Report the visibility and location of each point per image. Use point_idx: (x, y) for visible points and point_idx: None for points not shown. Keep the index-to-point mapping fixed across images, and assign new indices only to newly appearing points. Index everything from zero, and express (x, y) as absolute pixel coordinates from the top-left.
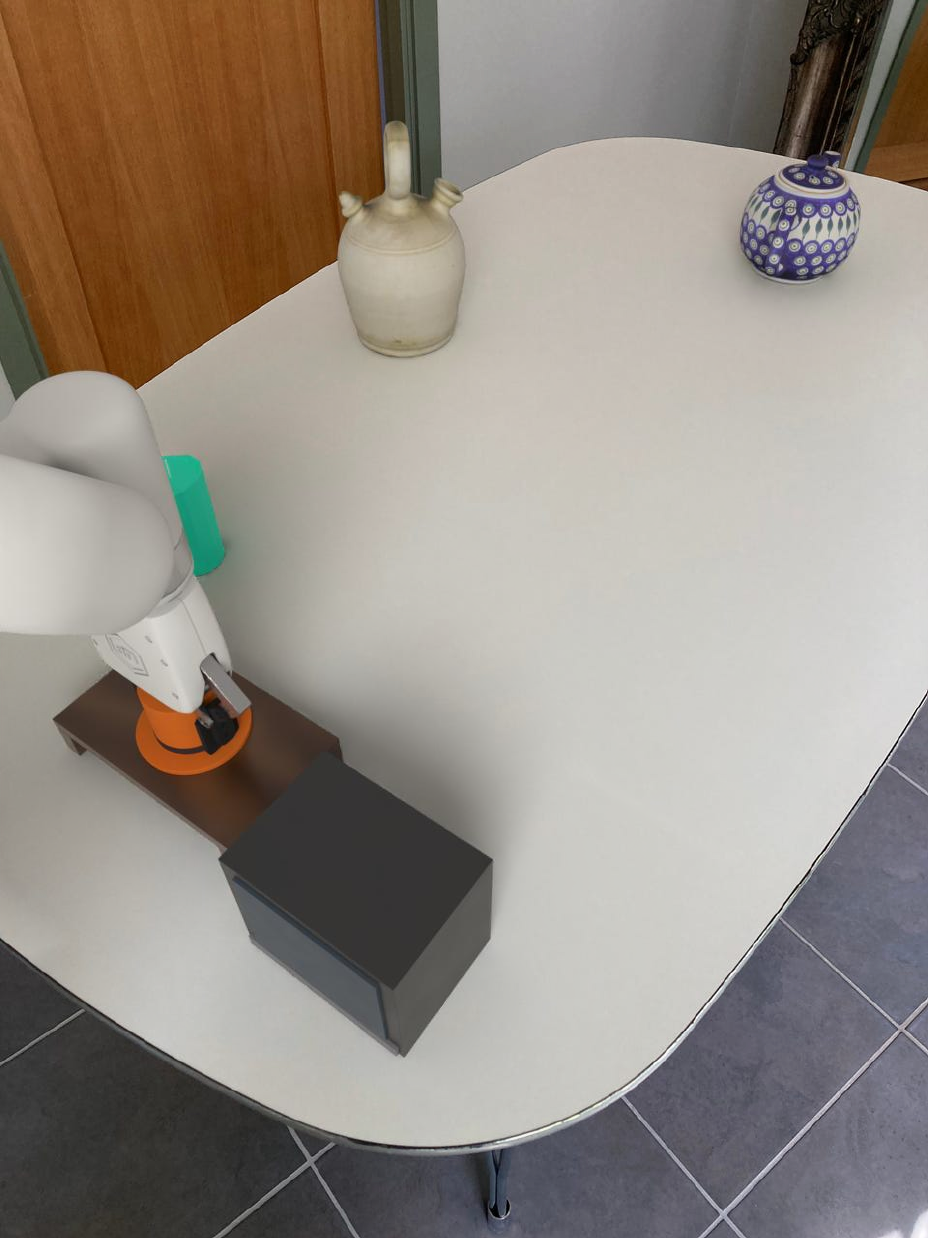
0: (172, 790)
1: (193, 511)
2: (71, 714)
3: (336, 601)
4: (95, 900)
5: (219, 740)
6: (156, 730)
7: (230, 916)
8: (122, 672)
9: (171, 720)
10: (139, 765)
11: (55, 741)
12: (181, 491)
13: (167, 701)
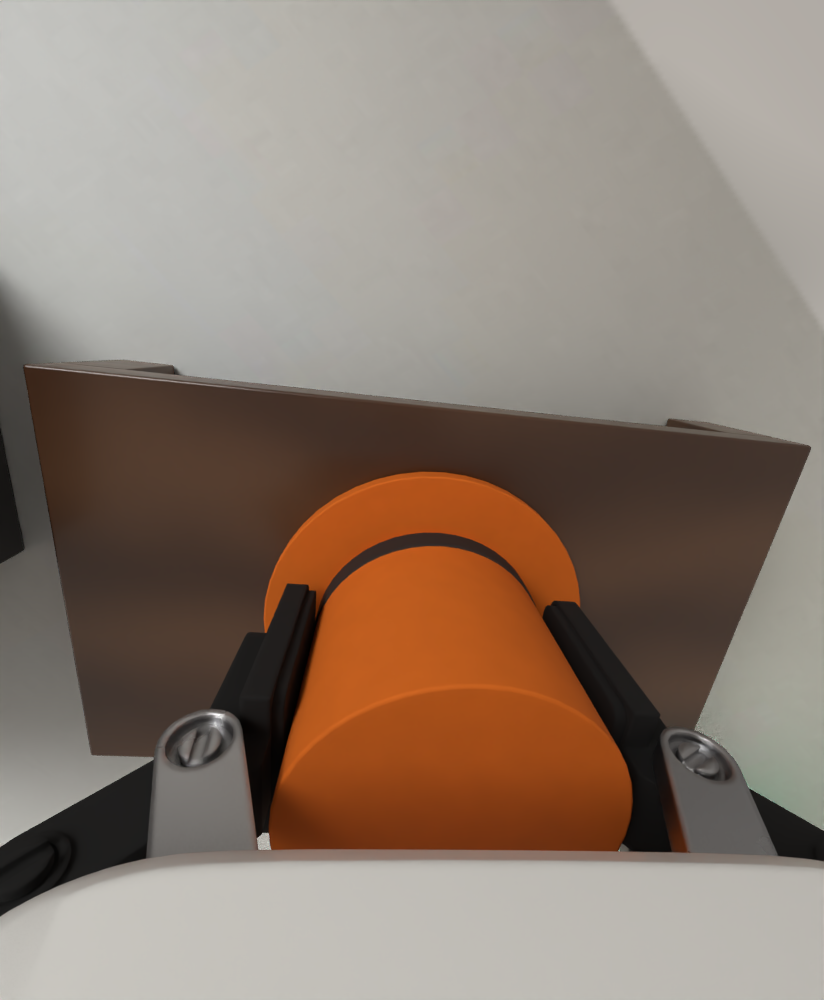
0: (333, 438)
1: None
2: (765, 484)
3: None
4: (374, 101)
5: (238, 650)
6: (457, 577)
7: (54, 258)
8: (739, 926)
9: (363, 667)
10: (478, 454)
11: (743, 419)
12: None
13: (170, 969)
